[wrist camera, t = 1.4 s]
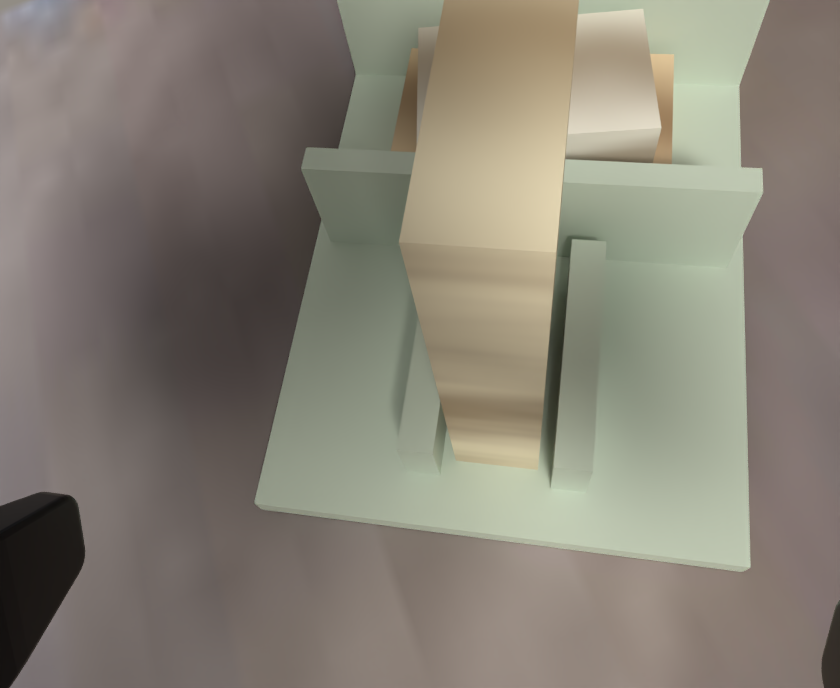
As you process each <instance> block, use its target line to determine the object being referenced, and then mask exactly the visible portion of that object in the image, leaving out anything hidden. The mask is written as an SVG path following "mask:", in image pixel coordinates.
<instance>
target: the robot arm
mask: <svg viewBox="0 0 840 688" xmlns="http://www.w3.org/2000/svg"><path fill="white" fill-rule="evenodd" d="M84 559H85V545H84V539H83V532H82V526H81V520H80V514H79V507H78V504H77V502H76V500H75V499H74V498H73V497H72V496H70V495H65V494H58V493H50V492H39V493H36V494H33V495H30V496H27V497H25V498H22V499H19V500H16V501H13V502H10V503H7V504H5V505H2V506H0V688H10V686H11V685H12V683H13V682H14V681H15V679H16V678H17V676H18V675H19V673H20V671H21V670H22V668H23V667H24V665H25V664H26V662H27V660H28V659H29V657H30V655H31V654H32V652H33V650H34V649H35V647H36V645H37V644H38V642H39V640H40V639H41V637H42V635H43V633H44V632H45V630H46V628H47V627H48V625H49V623H50V622H51V620H52V618H53V617H54V615H55V613H56V611H57V610H58V608H59V606H60V605H61V603H62V601H63V600H64V598H65V596H66V595H67V593H68V591H69V589H70V588H71V586H72V584H73V583H74V581H75V579H76V578H77V576H78V574H79V573H80V570H81V568H82V566H83V563H84ZM822 680H823V685H824V688H840V600H839V602H838V604H837V605H836V608H835V611H834V614H833V618H832V622H831V626H830V630H829V633H828V637H827V641H826V645H825V648H824V652H823V657H822Z"/></svg>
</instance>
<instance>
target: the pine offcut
mask: <svg viewBox="0 0 840 688" xmlns="http://www.w3.org/2000/svg"><path fill="white" fill-rule="evenodd" d="M650 57H651V63H652V70H653V76H654V83H655V89H656V96H657V102H658V109H659V115H660V121H661V132H660V136H659V140H658V144H657V148H656V152H655V156H654V160H653V163H655V164H672V132H673V84H674V54H650ZM417 84H418V48H411V53H410V58H409V63H408V68H407V73H406V78H405V83H404V88H403V93H402V98H401V103H400V107H399V112H398V117H397V122H396V127H395V132H394V137H393V142H392V147H391V151H398V152H416V147H417Z"/></svg>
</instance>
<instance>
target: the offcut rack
mask: <svg viewBox="0 0 840 688" xmlns="http://www.w3.org/2000/svg"><path fill="white" fill-rule="evenodd" d="M769 1H770V0H579V6H578V14H587V13H598V12H610V11H622V10H634V9H643V11H644V18H645V24H646V31H647V37H648V44H649V50H650V54H674V84H673V132H672V164H655V163H634V162H612V161H591V160H570V159H565V168H564V180H563V192H562V203H561V215H560V226H559V238H558V249H557V261H556V273H555V284H554V295H553V307H552V318H551V329H550V340H549V351H548V363H547V374H546V385H545V396H544V407H543V418H542V430H541V441H540V452H539V463H538V470H534V469H526V468H517V467H508V466H499V465H490V464H482V463H473V462H464V461H456V459H455V455H454V451H453V447H452V444H451V440H450V436H449V432H448V428H447V425H446V421H445V417H444V413H443V409H442V405H441V402H440V398H439V394H438V390H437V386H436V382H435V379H434V375H433V371H432V367H431V363H430V360H429V356H428V352H427V348H426V344H425V340H424V337H423V333H422V329H421V325H420V321H419V318H418V314H417V310H416V306H415V302H414V298H413V295H412V291H411V287H410V283H409V279H408V275H407V272H406V268H405V264H404V260H403V256H402V253H401V249H400V245H399V238H400V233H401V228H402V222H403V217H404V212H405V206H406V201H407V196H408V190H409V185H410V180H411V174H412V169H413V164H414V158H415V153H416V152H398V151H391V147H392V142H393V137H394V132H395V127H396V122H397V117H398V112H399V107H400V103H401V98H402V93H403V88H404V83H405V78H406V73H407V68H408V63H409V58H410V53H411V48H418V28H422V27H434V26H439V24H440V19H441V14H442V8H443V3H444V0H337V3H338V7H339V11H340V15H341V18H342V22H343V26H344V30H345V34H346V38H347V42H348V45H349V49H350V53H351V57H352V61H353V65H354V69H355V72H356V76H355V81H354V85H353V89H352V93H351V98H350V102H349V106H348V110H347V114H346V119H345V123H344V127H343V131H342V135H341V140H340V144H339V148H338V149H333V148H312V147H306V151H305V155H304V158H303V162H302V166H301V170H302V173H303V175H304V178H305V180H306V183H307V185H308V188H309V190H310V192H311V195H312V197H313V200H314V202H315V205H316V207H317V210H318V212H319V214H320V217H321V219H322V220H321V224H320V228H319V232H318V236H317V241H316V245H315V249H314V253H313V257H312V262H311V266H310V270H309V274H308V279H307V283H306V287H305V291H304V295H303V300H302V304H301V308H300V312H299V316H298V321H297V325H296V329H295V333H294V337H293V342H292V346H291V350H290V354H289V359H288V363H287V367H286V371H285V375H284V380H283V384H282V388H281V392H280V396H279V401H278V405H277V409H276V413H275V417H274V422H273V426H272V430H271V434H270V439H269V443H268V447H267V451H266V455H265V460H264V464H263V468H262V472H261V476H260V481H259V485H258V489H257V493H256V497H255V502H254V504H255V505H257V506H258V507H259V508H261V509H262V510H269V511H277V512H285V513H292V514H300V515H308V516H315V517H323V518H331V519H338V520H346V521H354V522H362V523H369V524H377V525H385V526H392V527H400V528H408V529H415V530H423V531H431V532H439V533H446V534H454V535H462V536H469V537H477V538H485V539H492V540H500V541H508V542H516V543H523V544H531V545H539V546H546V547H554V548H562V549H569V550H577V551H585V552H593V553H600V554H608V555H616V556H623V557H631V558H639V559H646V560H654V561H662V562H670V563H677V564H685V565H693V566H700V567H708V568H716V569H723V570H731V571H739V572H743V571H745V570H747V569H749V568H750V529H749V486H748V444H747V401H746V358H745V316H744V273H743V233H744V231H745V229H746V227H747V225H748V223H749V221H750V219H751V217H752V215H753V213H754V210H755V208H756V206H757V204H758V202H759V200H760V198H761V196H762V194H763V177H762V168H741V145H740V103H739V85H740V82H741V79H742V76H743V73H744V71H745V68H746V65H747V62H748V60H749V57H750V54H751V51H752V48H753V46H754V43H755V40H756V37H757V34H758V32H759V29H760V26H761V23H762V21H763V18H764V15H765V12H766V9H767V7H768V4H769Z"/></svg>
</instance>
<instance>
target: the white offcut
mask: <svg viewBox="0 0 840 688" xmlns="http://www.w3.org/2000/svg"><path fill="white" fill-rule="evenodd" d="M438 30H439V26H434V27H422V28H418V84H417V142H418V137H419V131H420V126H421V121H422V115H423V110H424V105H425V99H426V94H427V89H428V83H429V78H430V73H431V67H432V62H433V57H434V51H435V46H436V40H437V35H438ZM660 132H661V121H660V115H659V109H658V102H657V96H656V89H655V83H654V76H653V70H652V63H651V57H650V50H649V44H648V37H647V31H646V24H645V18H644V11H643V9H634V10H622V11H610V12H598V13H587V14H578V18H577V30H576V41H575V53H574V64H573V76H572V87H571V99H570V111H569V122H568V134H567V145H566V157H565V159H570V160H591V161H612V162H634V163H653V160H654V156H655V152H656V148H657V144H658V140H659V136H660Z"/></svg>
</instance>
